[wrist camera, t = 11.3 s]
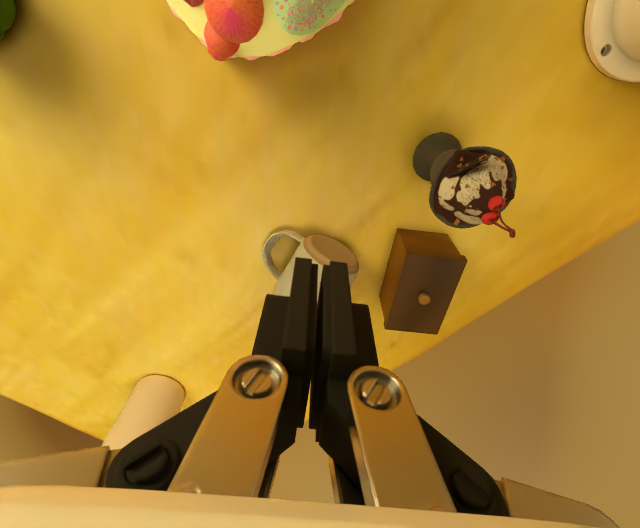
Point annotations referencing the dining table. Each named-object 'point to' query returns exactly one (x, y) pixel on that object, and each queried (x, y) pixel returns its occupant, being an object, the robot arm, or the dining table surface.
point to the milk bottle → (145, 409)
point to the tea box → (420, 281)
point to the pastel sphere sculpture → (255, 24)
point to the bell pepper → (6, 15)
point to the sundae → (465, 181)
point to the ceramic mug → (311, 248)
